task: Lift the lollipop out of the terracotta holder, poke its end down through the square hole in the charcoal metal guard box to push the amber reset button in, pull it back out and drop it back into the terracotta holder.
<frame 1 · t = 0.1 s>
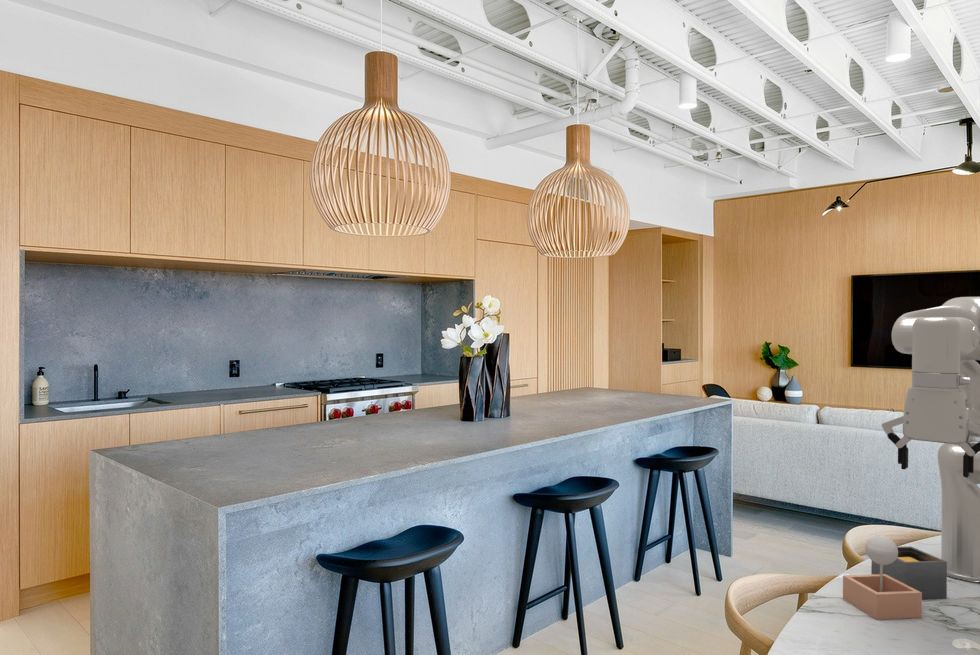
hand: (934, 472, 121), 31 cm above the table, tool pointing down, fingers open, 9 cm apart
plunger: (908, 570, 143), point 5 cm above the table, slide at 0.0 cm
lollipop: (880, 608, 133), resting in tool holder
tool holder: (880, 607, 133), on the table
guard box: (907, 590, 143), on the table
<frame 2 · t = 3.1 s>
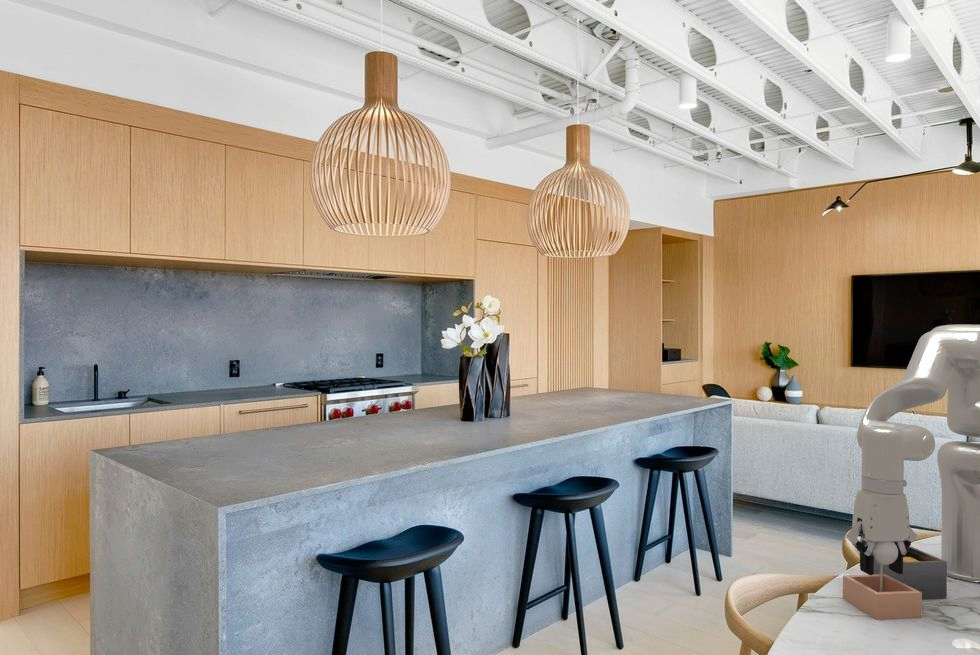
hand: (881, 571, 133), 8 cm above the table, tool pointing down, fingers closed on lollipop, 5 cm apart
lollipop: (880, 608, 133), resting in tool holder, touching gripper
everything else where it was.
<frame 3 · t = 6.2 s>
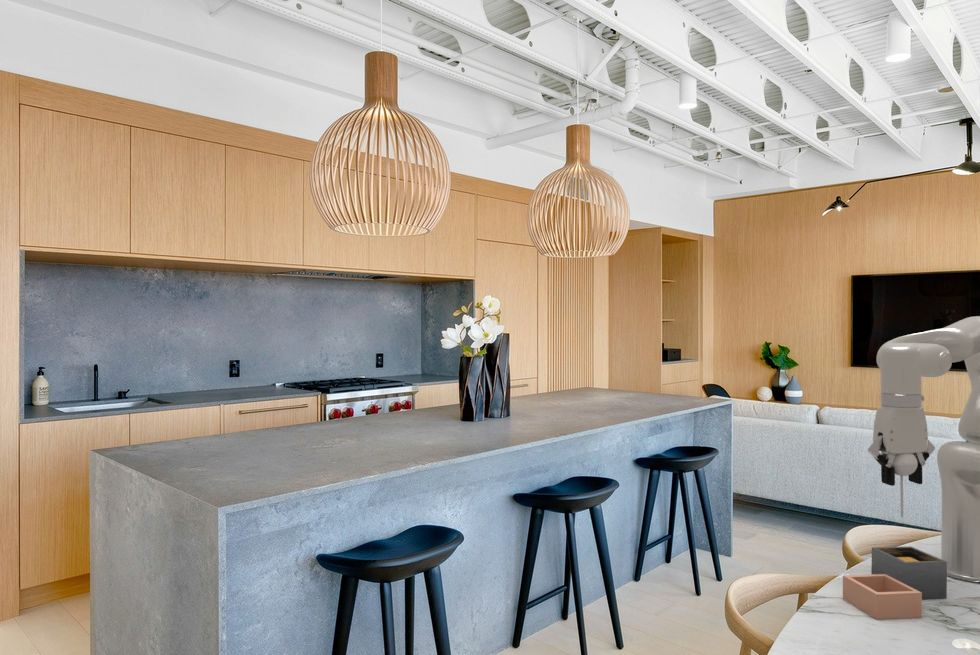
hand: (901, 482, 140), 25 cm above the table, tool pointing down, fingers closed on lollipop, 5 cm apart
lollipop: (902, 517, 140), point 17 cm above the table, touching gripper
everything else where it was.
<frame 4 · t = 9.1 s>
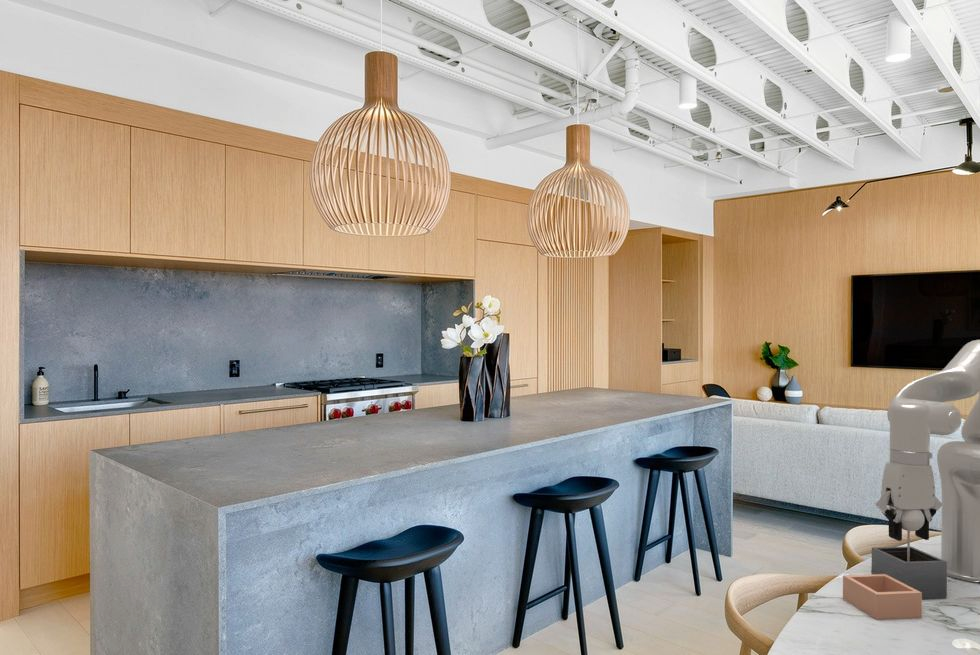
hand: (908, 537, 143), 12 cm above the table, tool pointing down, fingers closed on lollipop, 5 cm apart
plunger: (907, 579, 143), point 2 cm above the table, slide at 2.2 cm, touching lollipop
lollipop: (908, 572, 143), point 4 cm above the table, touching gripper, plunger
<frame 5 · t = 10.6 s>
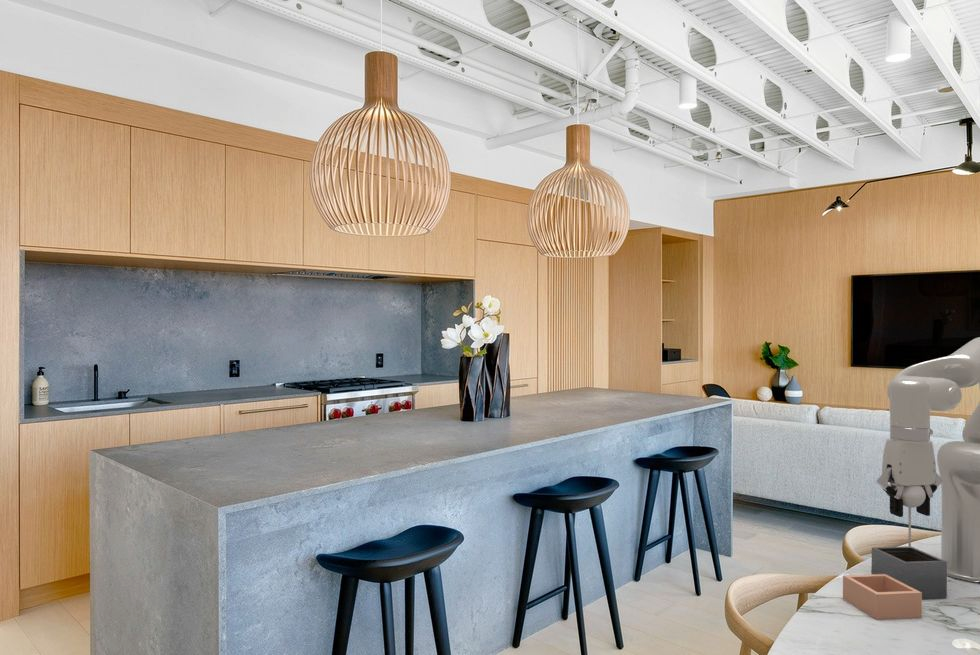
hand: (909, 513, 143), 17 cm above the table, tool pointing down, fingers closed on lollipop, 5 cm apart
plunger: (907, 579, 143), point 2 cm above the table, slide at 2.2 cm
lollipop: (909, 548, 143), point 9 cm above the table, touching gripper
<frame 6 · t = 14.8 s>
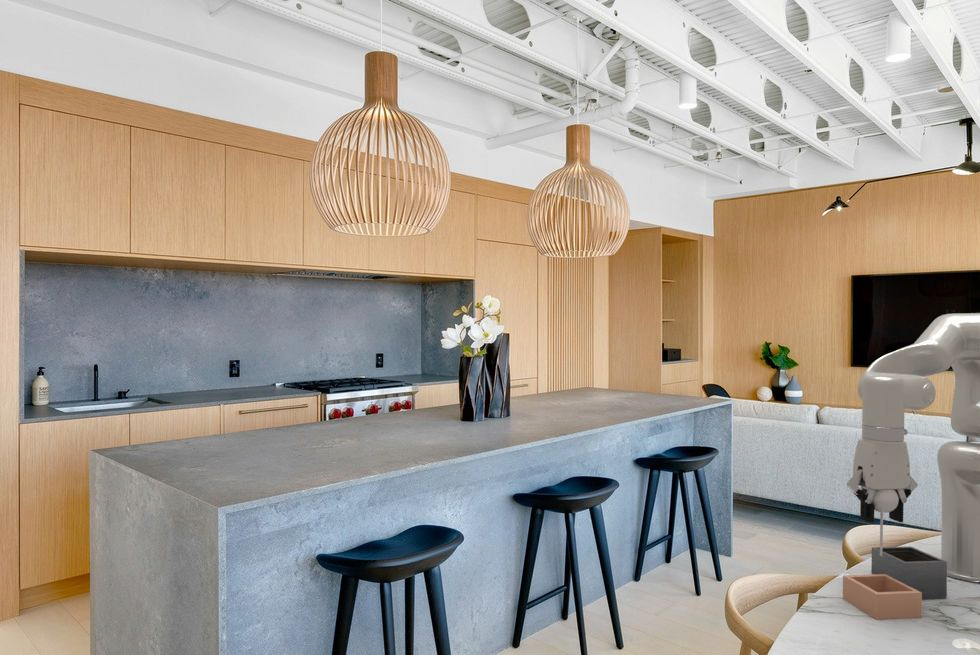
hand: (881, 519, 133), 18 cm above the table, tool pointing down, fingers closed on lollipop, 5 cm apart
lollipop: (881, 556, 133), point 11 cm above the table, touching gripper
everything else where it was.
when the fingers open (8 cm above the table, at t = 18.3 s): lollipop stays where it is, resting in tool holder.
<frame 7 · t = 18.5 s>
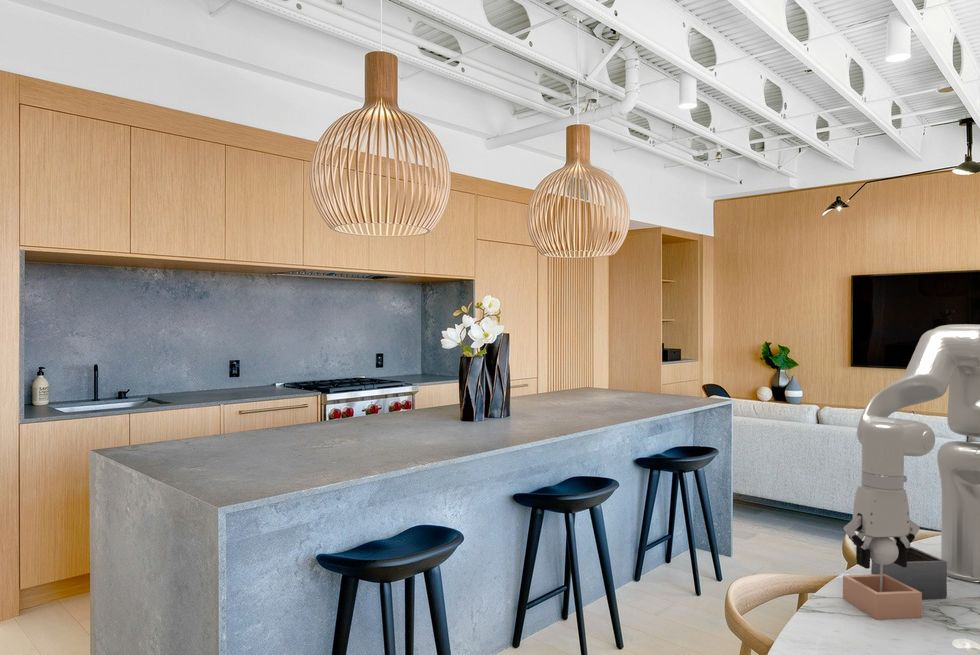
hand: (881, 565, 133), 9 cm above the table, tool pointing down, fingers open, 7 cm apart
lollipop: (880, 608, 133), resting in tool holder
everything else where it was.
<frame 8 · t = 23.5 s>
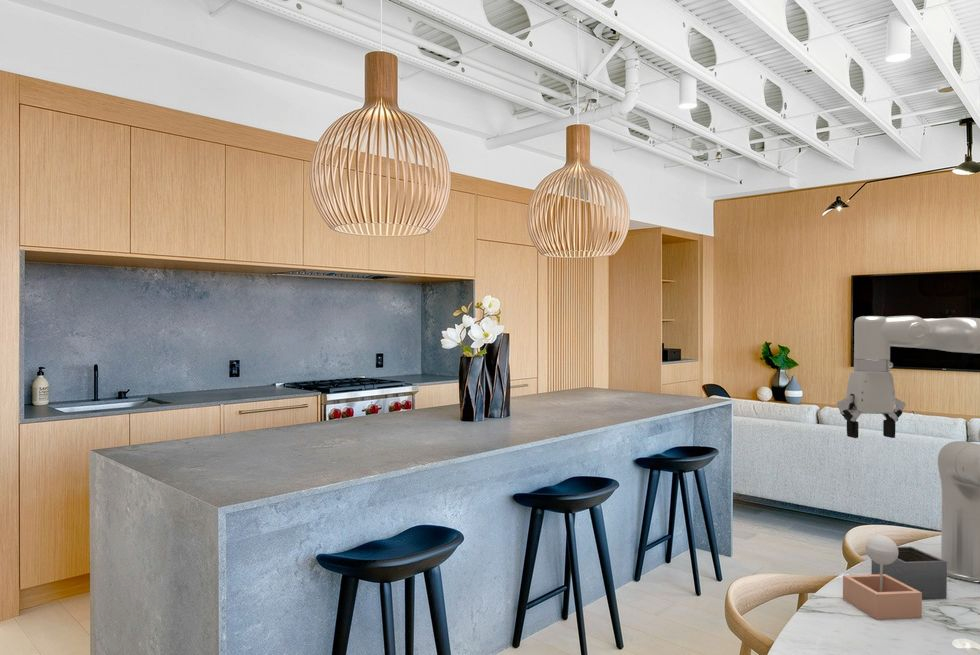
hand: (870, 437, 155), 32 cm above the table, tool pointing down, fingers open, 9 cm apart
nothing on the table moved.
at the end: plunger slide at 2.2 cm; lollipop 0.1 cm off-centre on the tool holder, point 0.0 cm above the tool holder's base; lollipop tilted 0° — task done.
